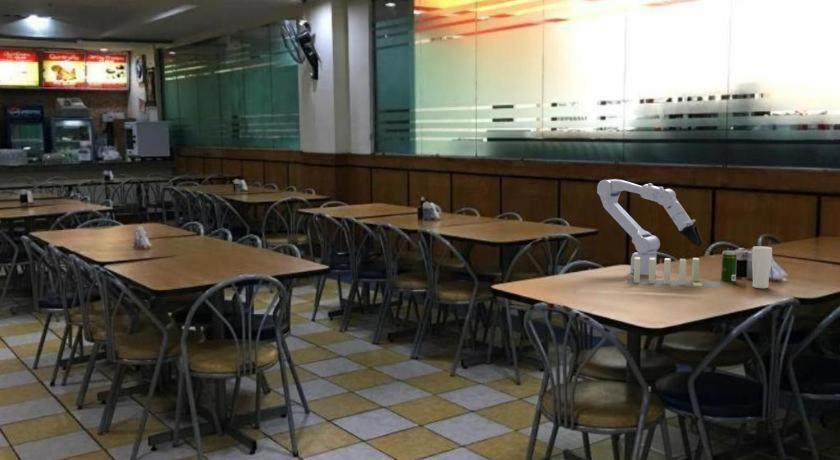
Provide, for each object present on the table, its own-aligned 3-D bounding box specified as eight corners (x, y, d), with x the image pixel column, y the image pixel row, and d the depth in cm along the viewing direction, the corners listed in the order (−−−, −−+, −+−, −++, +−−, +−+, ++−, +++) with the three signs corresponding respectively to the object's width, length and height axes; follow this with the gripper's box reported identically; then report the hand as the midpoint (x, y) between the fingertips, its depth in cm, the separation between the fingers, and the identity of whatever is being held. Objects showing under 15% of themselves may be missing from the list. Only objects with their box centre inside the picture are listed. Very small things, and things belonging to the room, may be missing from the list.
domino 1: (634, 282, 308) (634, 258, 307) (633, 280, 313) (634, 257, 311) (639, 282, 307) (640, 259, 306) (639, 280, 312) (640, 257, 311)
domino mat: (627, 285, 306) (627, 283, 306) (626, 280, 316) (626, 278, 316) (721, 290, 298) (721, 287, 298) (718, 284, 308) (718, 282, 308)
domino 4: (679, 284, 304) (680, 260, 303) (678, 282, 309) (679, 258, 308) (685, 284, 304) (686, 260, 303) (684, 282, 308) (685, 258, 307)
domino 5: (692, 283, 312) (693, 259, 311) (691, 280, 316) (692, 257, 315) (698, 283, 311) (699, 259, 310) (697, 281, 316) (698, 258, 315)
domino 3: (664, 283, 305) (665, 260, 304) (663, 281, 310) (664, 258, 309) (669, 284, 305) (670, 260, 304) (669, 281, 310) (670, 258, 308)
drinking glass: (749, 288, 301) (751, 248, 300) (751, 285, 307) (753, 245, 306) (769, 289, 298) (771, 249, 296) (771, 286, 304) (773, 246, 302)
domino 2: (649, 283, 307) (650, 259, 306) (648, 280, 311) (649, 257, 310) (654, 283, 306) (655, 259, 305) (654, 281, 311) (654, 257, 310)
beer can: (738, 282, 313) (739, 251, 311) (730, 284, 309) (732, 252, 308) (725, 280, 317) (726, 249, 315) (717, 282, 314) (719, 251, 312)
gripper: (684, 207, 308) (704, 237, 304) (691, 211, 321) (711, 240, 316) (668, 218, 311) (688, 247, 306) (676, 222, 323) (695, 250, 319)
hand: (698, 244), depth 311 cm, fingers open, 7 cm apart
